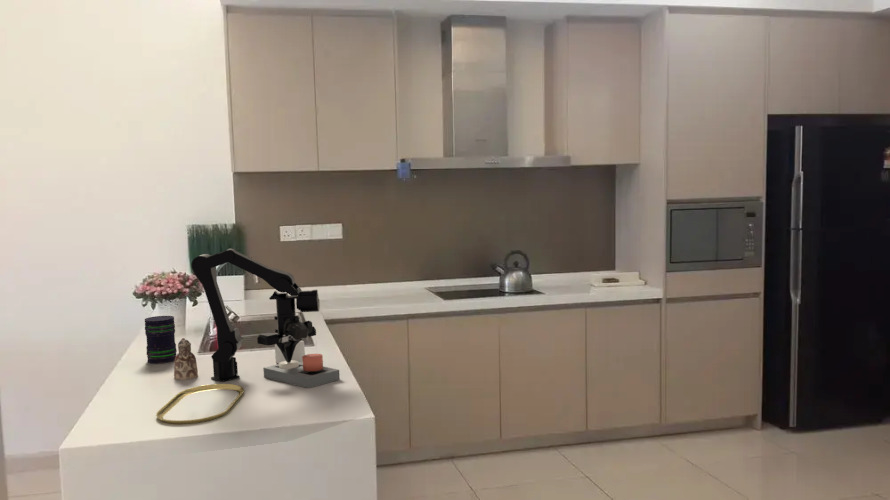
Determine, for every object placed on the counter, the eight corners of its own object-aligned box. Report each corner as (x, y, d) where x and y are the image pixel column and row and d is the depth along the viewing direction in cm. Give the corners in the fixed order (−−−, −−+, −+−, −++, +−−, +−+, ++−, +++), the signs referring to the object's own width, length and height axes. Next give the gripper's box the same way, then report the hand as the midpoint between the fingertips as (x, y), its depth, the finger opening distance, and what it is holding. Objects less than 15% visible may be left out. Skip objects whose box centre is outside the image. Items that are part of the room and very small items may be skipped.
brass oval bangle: (146, 428, 197) (145, 421, 197) (187, 390, 232) (187, 385, 232) (220, 425, 198) (220, 419, 198) (250, 387, 233) (250, 382, 232)
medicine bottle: (291, 359, 266) (290, 324, 265) (305, 361, 262) (303, 326, 261) (275, 363, 261) (273, 328, 260) (289, 366, 256) (287, 330, 255)
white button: (287, 378, 240) (286, 365, 239) (275, 375, 244) (275, 363, 243) (303, 374, 244) (302, 362, 244) (291, 371, 248) (290, 359, 248)
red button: (311, 372, 231) (310, 359, 231) (298, 369, 235) (298, 356, 235) (327, 368, 236) (326, 355, 236) (314, 365, 240) (314, 352, 240)
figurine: (173, 380, 243) (170, 342, 242) (175, 375, 250) (172, 338, 248) (197, 378, 245) (194, 340, 244) (198, 372, 252) (195, 336, 250)
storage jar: (167, 364, 265) (164, 320, 264) (141, 363, 267) (138, 320, 266) (182, 357, 275) (179, 315, 273) (157, 357, 277) (154, 315, 275)
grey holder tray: (308, 388, 228) (307, 378, 228) (264, 377, 243) (263, 367, 243) (339, 379, 237) (339, 369, 237) (295, 369, 252) (294, 360, 252)
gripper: (277, 320, 230) (279, 372, 231) (326, 310, 244) (328, 359, 245) (255, 316, 237) (257, 366, 239) (303, 307, 251) (306, 355, 253)
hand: (288, 362), depth 244 cm, fingers closed
